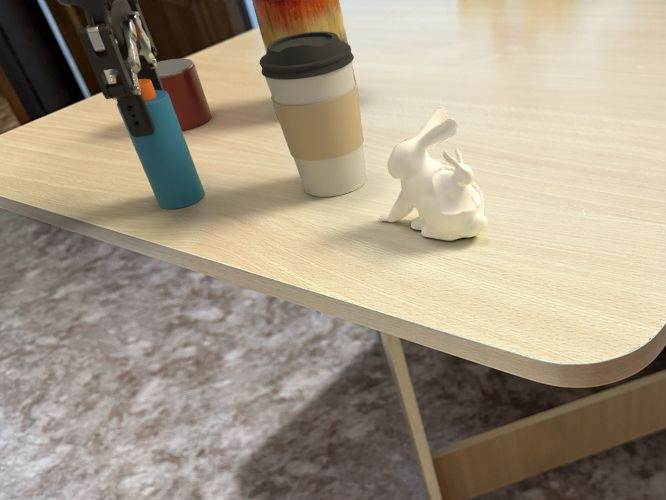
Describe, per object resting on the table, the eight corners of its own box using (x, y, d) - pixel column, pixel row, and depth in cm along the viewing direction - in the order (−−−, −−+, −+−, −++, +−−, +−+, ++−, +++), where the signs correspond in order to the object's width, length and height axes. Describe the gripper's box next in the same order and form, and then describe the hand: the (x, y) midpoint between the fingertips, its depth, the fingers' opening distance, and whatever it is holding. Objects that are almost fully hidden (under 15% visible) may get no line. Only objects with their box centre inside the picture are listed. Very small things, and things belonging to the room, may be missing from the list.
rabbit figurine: (375, 220, 67) (355, 123, 61) (429, 190, 71) (415, 96, 65) (464, 256, 60) (452, 150, 54) (519, 220, 64) (513, 118, 58)
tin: (152, 136, 93) (129, 80, 88) (160, 116, 98) (140, 64, 94) (209, 126, 93) (190, 71, 89) (214, 107, 99) (196, 55, 95)
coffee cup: (300, 169, 79) (262, 30, 69) (378, 160, 79) (351, 19, 69) (289, 206, 72) (245, 56, 62) (375, 195, 72) (344, 43, 62)
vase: (366, 106, 93) (333, -68, 80) (287, 124, 91) (240, -52, 78) (349, 84, 101) (316, -77, 88) (276, 100, 99) (232, -63, 86)
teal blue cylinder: (155, 212, 74) (105, 95, 66) (162, 192, 78) (115, 80, 70) (202, 204, 74) (158, 86, 66) (207, 185, 78) (165, 72, 70)
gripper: (57, -67, 66) (127, 103, 76) (8, -42, 55) (98, 153, 65) (137, -78, 66) (196, 92, 76) (105, -57, 55) (179, 139, 65)
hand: (151, 120), depth 71 cm, fingers open, 8 cm apart
